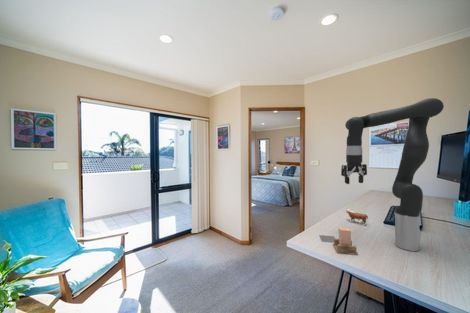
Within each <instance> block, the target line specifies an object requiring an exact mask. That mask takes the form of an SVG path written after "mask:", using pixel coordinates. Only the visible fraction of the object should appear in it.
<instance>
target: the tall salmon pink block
mask: <svg viewBox="0 0 470 313" xmlns="http://www.w3.org/2000/svg"><path fill="white" fill-rule="evenodd" d="M338 239H339V244H340V245H351V240H352V230H351V229H350V228H349V227H342V226H339V227H338Z"/></svg>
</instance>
